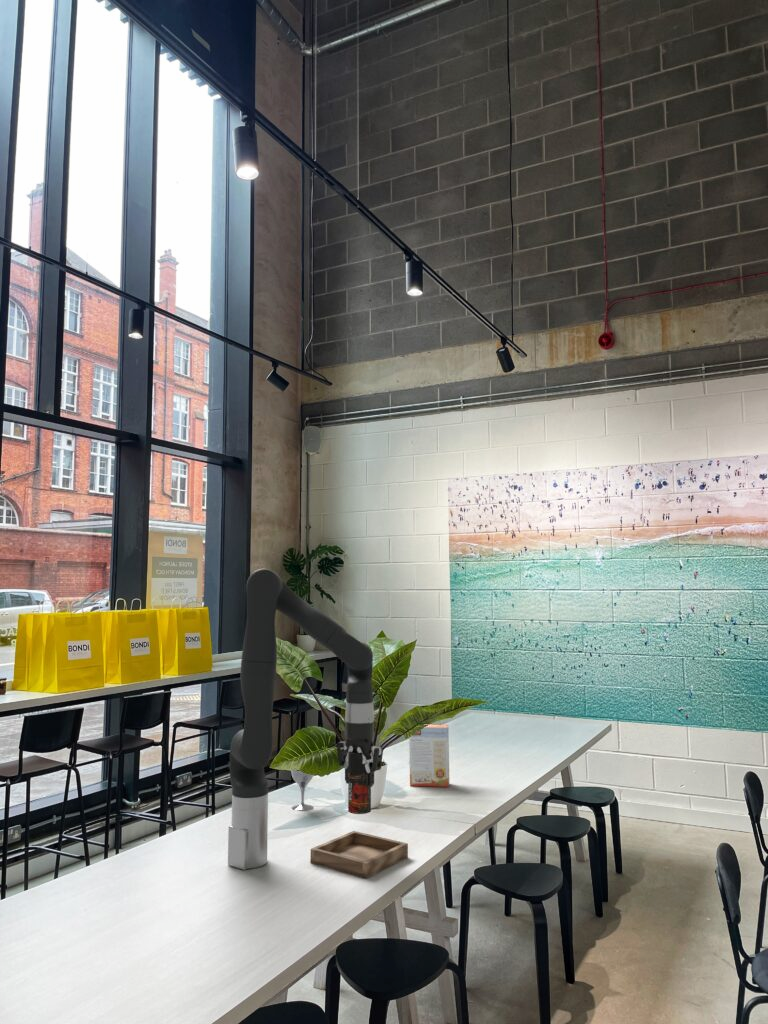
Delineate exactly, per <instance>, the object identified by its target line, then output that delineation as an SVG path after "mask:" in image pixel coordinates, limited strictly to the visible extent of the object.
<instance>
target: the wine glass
mask: <svg viewBox="0 0 768 1024" xmlns="http://www.w3.org/2000/svg"><path fill="white" fill-rule="evenodd" d="M290 772H291V776H292V779H293V781H294V782H295V783H296V784H297V786H298V787H299V789H300V794H301V796H300V797H301V798H300V799H301V801H300V802H301V803H299V804H294V805H293V806H291V810H294V811H297V812H301V811H302V812H303V811H305V812H306V811H310V810H313V809H314V808H315V807H314V806H313V805H312V804H308V803H307V804H306V803H305V791H306V788H307V786H308V785H309V783H310V782H311V781H312V780H313V779H314V778H313V777H314V775H315V774H314V775H310V774H306V773H303V772H301V771H297V770H291V769H290Z"/></svg>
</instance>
